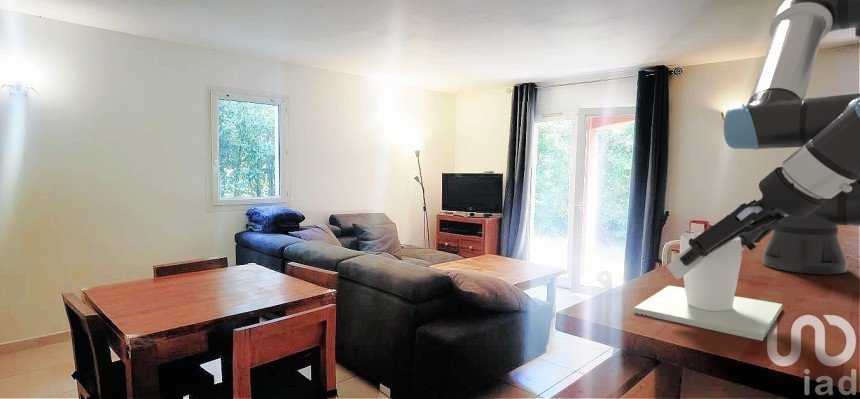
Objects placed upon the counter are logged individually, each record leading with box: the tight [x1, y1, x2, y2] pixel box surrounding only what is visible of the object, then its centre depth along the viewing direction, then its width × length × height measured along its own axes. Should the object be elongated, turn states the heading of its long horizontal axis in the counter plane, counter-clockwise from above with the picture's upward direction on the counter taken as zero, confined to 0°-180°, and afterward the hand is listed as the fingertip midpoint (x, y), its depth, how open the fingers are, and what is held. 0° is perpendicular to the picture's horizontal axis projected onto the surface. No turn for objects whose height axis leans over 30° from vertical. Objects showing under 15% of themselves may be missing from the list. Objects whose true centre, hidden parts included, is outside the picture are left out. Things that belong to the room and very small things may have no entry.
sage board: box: [633, 285, 783, 342], centre depth 76 cm, size 18×18×1 cm
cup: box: [679, 232, 743, 311], centre depth 75 cm, size 9×9×12 cm
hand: (692, 267), depth 78 cm, fingers open, 11 cm apart
